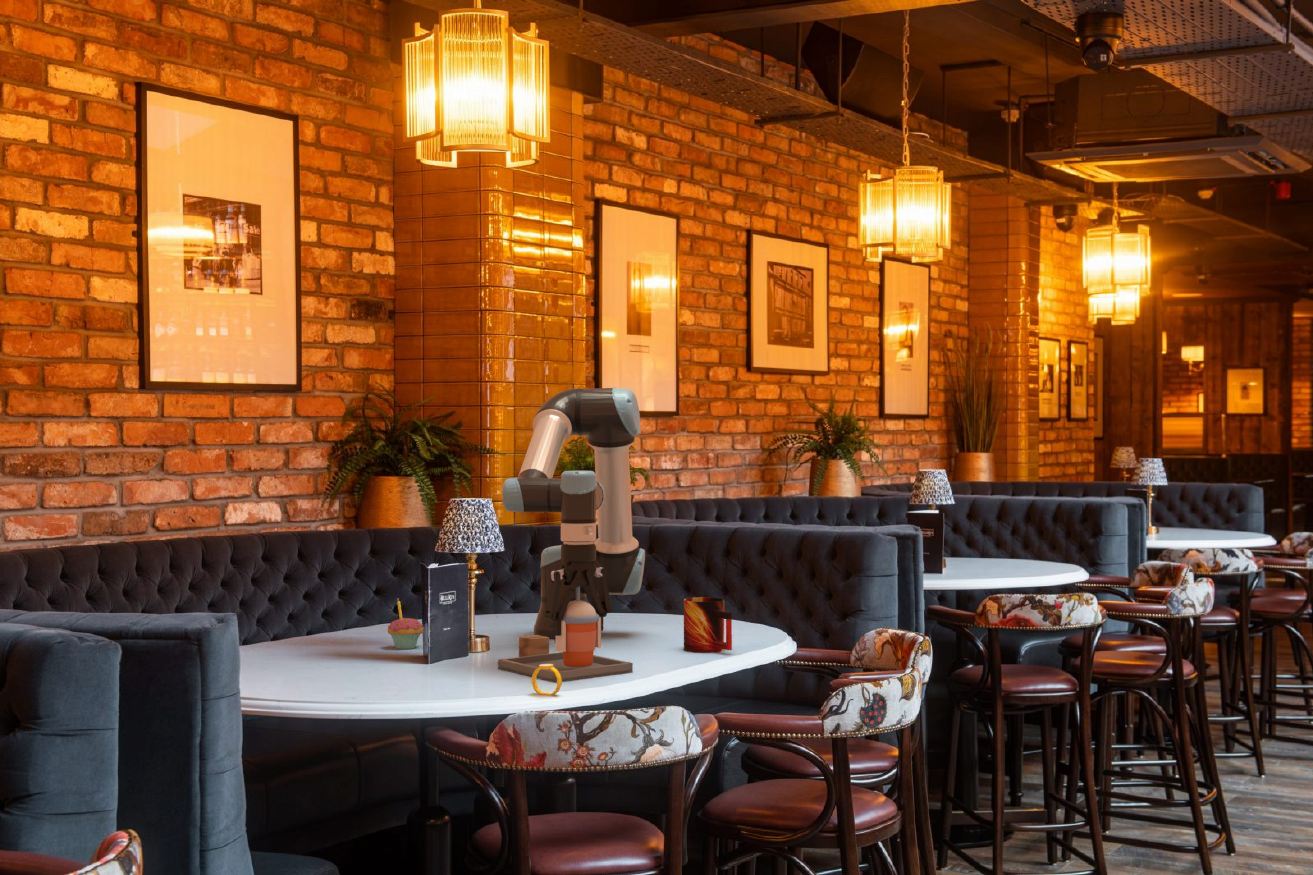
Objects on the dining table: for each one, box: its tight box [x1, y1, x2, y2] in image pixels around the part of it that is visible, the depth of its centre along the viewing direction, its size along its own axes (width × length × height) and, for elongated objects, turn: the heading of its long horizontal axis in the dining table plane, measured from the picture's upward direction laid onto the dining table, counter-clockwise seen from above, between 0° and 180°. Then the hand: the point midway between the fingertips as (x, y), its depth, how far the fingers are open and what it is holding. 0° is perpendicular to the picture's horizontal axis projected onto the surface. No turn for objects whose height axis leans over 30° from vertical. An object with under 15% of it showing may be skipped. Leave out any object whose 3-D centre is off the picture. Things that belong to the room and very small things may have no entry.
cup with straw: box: [562, 586, 599, 667], centre depth 293 cm, size 9×9×18 cm
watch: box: [531, 664, 562, 696], centre depth 269 cm, size 6×3×6 cm, turn 67°
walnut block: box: [518, 634, 550, 657], centre depth 314 cm, size 5×5×5 cm
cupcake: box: [387, 597, 424, 650], centre depth 330 cm, size 9×8×12 cm
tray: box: [497, 651, 634, 683], centre depth 297 cm, size 22×20×2 cm
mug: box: [683, 596, 733, 654], centre depth 326 cm, size 10×14×12 cm
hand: (578, 648), depth 293 cm, fingers closed on cup with straw, 8 cm apart
